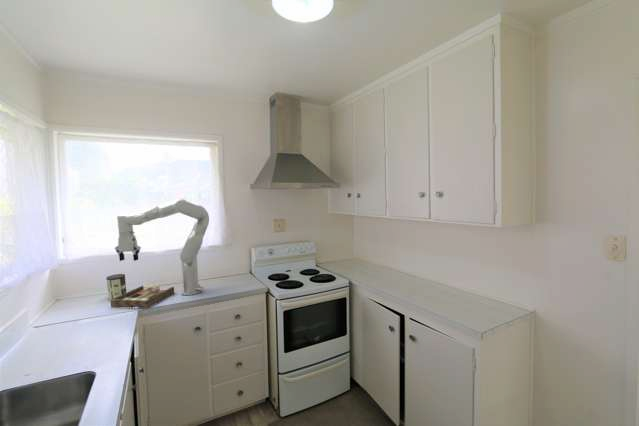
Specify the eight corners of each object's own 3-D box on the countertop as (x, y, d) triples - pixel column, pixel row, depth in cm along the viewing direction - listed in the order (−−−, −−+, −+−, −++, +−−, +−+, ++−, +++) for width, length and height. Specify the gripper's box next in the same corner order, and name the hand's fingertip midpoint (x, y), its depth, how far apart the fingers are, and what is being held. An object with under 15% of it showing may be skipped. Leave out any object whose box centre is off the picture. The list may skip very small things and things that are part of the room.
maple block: (159, 290, 197) (159, 285, 197) (154, 293, 192) (153, 287, 192) (153, 290, 198) (152, 284, 198) (147, 293, 193) (147, 287, 193)
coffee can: (122, 292, 201) (120, 273, 200) (129, 295, 196) (128, 275, 194) (105, 297, 193) (103, 277, 191) (112, 300, 187) (110, 279, 186)
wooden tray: (174, 293, 198) (173, 286, 197) (146, 308, 173) (146, 301, 172) (142, 292, 201) (141, 285, 201) (111, 307, 177) (110, 300, 176)
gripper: (143, 232, 185) (145, 258, 187) (118, 232, 187) (121, 258, 189) (134, 234, 178) (137, 261, 179) (108, 234, 180) (111, 261, 182)
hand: (129, 260), depth 184 cm, fingers open, 9 cm apart
